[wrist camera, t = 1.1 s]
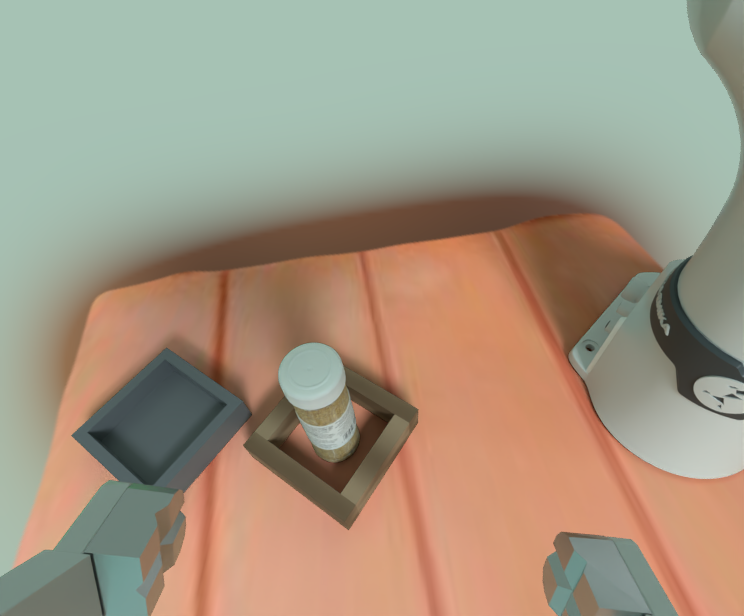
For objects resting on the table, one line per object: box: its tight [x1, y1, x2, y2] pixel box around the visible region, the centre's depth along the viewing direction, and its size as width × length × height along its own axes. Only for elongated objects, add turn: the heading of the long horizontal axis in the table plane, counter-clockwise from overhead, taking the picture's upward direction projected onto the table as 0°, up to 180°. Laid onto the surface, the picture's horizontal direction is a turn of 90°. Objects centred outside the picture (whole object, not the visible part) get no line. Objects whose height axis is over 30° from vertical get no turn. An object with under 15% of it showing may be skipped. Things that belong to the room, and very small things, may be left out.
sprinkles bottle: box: [278, 343, 360, 463], centre depth 36 cm, size 5×5×13 cm
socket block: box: [243, 366, 418, 530], centre depth 40 cm, size 11×11×3 cm
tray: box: [71, 348, 252, 493], centre depth 41 cm, size 11×11×3 cm
